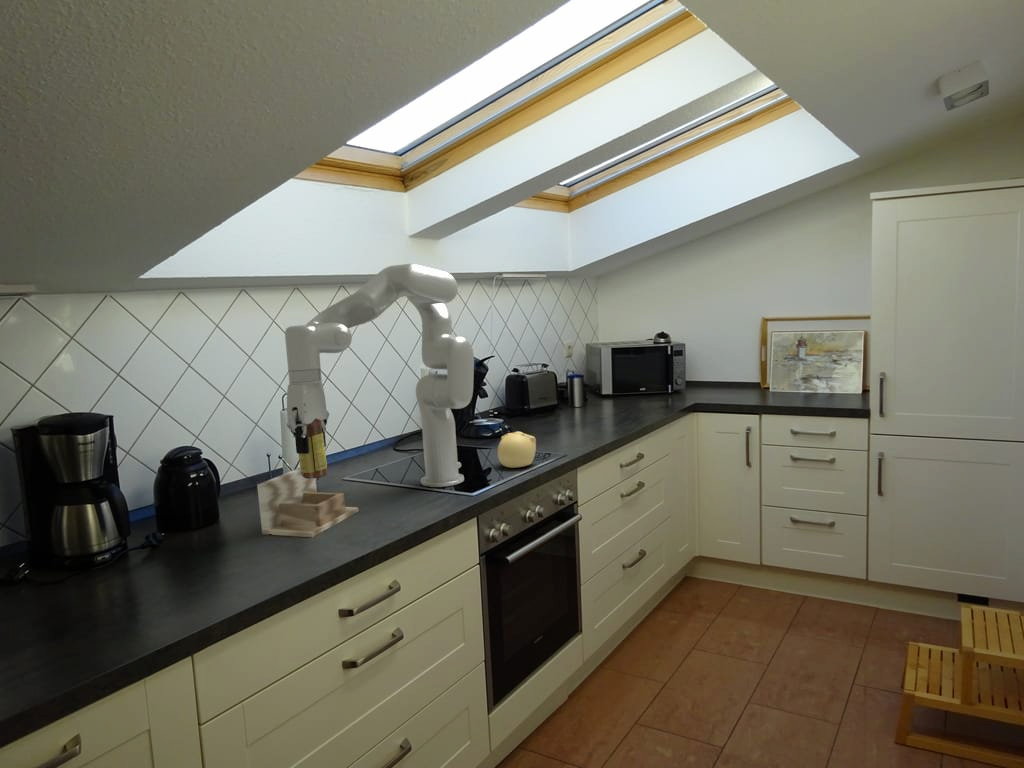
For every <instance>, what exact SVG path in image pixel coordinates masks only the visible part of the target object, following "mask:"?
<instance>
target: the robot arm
mask: <svg viewBox="0 0 1024 768" xmlns="http://www.w3.org/2000/svg"><path fill="white" fill-rule="evenodd" d="M458 287H459V286H458V283H457V280H456V279H455V278H454V276H453V275H452V274H451V273H450V272H449V273H448V272H447V271H444V270H443V271H442V270H440V269H437V268H432V267H428V266H424V265H421V264H416V263H403V264H397V265H396V264H394V265H389V266H387V267H384V268H382V270H380V271H379V272H378V273H377V274H375V275H374V276H373V277H372V278H371V279H370V280H368V281H367V282H366V283H365V284H364V285H362V286H361V287H360V288H358V290H356V291H355V292H353V293H352V294H350V295H348V296H346V297H344V298H343V299H341V300H339V301H338V302H336V303H334V304H332V305H330V306H328V307H327V308H325V309H323V310H322V311H321V312H319V313H318V314H316V315H315V316H314V317H313V318H312V319H311V320H309V322H307V323H306V324H303V325H302V324H301V325H291V326H287V328H286V329H285V330H284V339H285V347H286V348H285V350H286V361H287V370H288V372H287V373H288V382H289V383H288V385H287V390H286V392H287V393H286V416H287V417H286V418H287V423H286V427H287V428H288V430H289V431H290V432H291V434H292V437H293V438H294V439H295V441H294V442H295V451H296V454H298V455H299V454H308V453H309V445H308V437H306V431H307V425H309V424H311V423H312V422H313V421H314V420H315V419H316V418H317V419H320V421H321V427H322V432H323V438H324V446H325V448H327V443H326V432H325V431H327V428H326V426H327V423H328V419H329V417H330V413H329V411H328V410H327V403H326V395H325V394H326V393H325V390H324V385H323V382H322V381H323V380H322V368H321V367H322V366H321V357H320V354H339V353H342V352H345V351H346V350H347V349H348V348H349V347H350V346H351V344H352V341H353V336H352V332H351V330H350V328H353V327H356V326H360V325H364V324H366V323H370V322H371V321H375V320H376V319H378V318H379V317H380V316H381V315H382V314H383V313H384V312H385V311H386V310H388V308H389V307H391V306H392V305H394V304H395V302H396V301H398V300H399V299H400V298H403V297H406V298H407V299H408V301H409V302H410V303H411V304H412V305H413V306H414V307H415V308H416V310H417V312H418V313H419V315H420V318H421V329H422V331H421V360H422V363H423V364H424V365H425V367H426V368H429V369H432V370H446V371H447V373H446V374H445V373H431V374H430V373H429V374H426V375H424V376H422V377H421V378H419V380H418V382H417V383H416V387H415V395H416V401H417V404H418V408H419V412H420V418H421V421H420V422H421V430H422V431H421V433H422V444H423V457H424V468H425V470H424V471H425V476H423V477H422V478H421V479H420V484H421V485H422V486H423V487H428V486H429V487H430V488H443V487H450V486H456V485H459V484H461V483H463V482H464V481H465V477H464V474H462V473H459V469H460V468H461V467H462V463H461V462H460V461H458V448H457V435H456V433H457V432H456V421H455V417H454V414H453V412H452V409H453V410H454V409H455V410H458V409H459V410H460V409H464V408H465V407H467V406H468V405H469V404H470V403H471V401H472V398H473V393H474V375H475V372H474V371H475V367H474V365H475V356H474V355H475V354H474V349H473V346H472V345H471V342H470V341H469V340H468V339H467V338H466V337H464V336H460V335H453V325H452V323H453V321H452V316H451V313H450V310H449V309H448V307H447V306H446V304H449V303H450V302H452V301H453V300H455V298H456V296H457V294H458ZM299 422H302V424H299ZM299 427H302V431H301V430H300V429H299ZM429 487H428V488H429Z"/></svg>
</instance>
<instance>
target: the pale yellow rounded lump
mask: <svg viewBox="0 0 1024 768" xmlns="http://www.w3.org/2000/svg"><path fill="white" fill-rule="evenodd" d="M500 438H501V439H500V442H499V444H498V445H497V457H498V460H499V463H500V464H501V465H502V466H504V467H505V468H511V469H513V468H516V469H517V468H523V467H526V466H531V464H532V463H533V461H534V458H535V455H536V451H537V440H536V437H535V436H533V435H530V434H527V433H524V432H522V431H518V430H517V431H513V432H508V433H506V434H504V435H502V436H501V437H500Z"/></svg>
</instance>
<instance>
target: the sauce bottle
mask: <svg viewBox="0 0 1024 768" xmlns="http://www.w3.org/2000/svg"><path fill="white" fill-rule="evenodd" d="M299 424H302V422H299ZM299 429H300V430H301V431H302V427H299ZM306 437H308V445H309V453H308V454H298V458H299V468H301V473H302V476H303V477H304V478H307V479H310V478H316V479H319V478H322V477H325V476H327V474H328V462H327V456H326V447H325V446H324V438H323V432H322V427H321V421H320V419H317V418H316V419H315V420H314V421H313V422H312V423H311V424H309V425H307V431H306Z"/></svg>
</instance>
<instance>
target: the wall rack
mask: <svg viewBox="0 0 1024 768" xmlns="http://www.w3.org/2000/svg"><path fill="white" fill-rule="evenodd" d="M256 488H257V496H258V498H257V499H258V505H259V507H258V508H259V516H260V524H261V533H262V534H261V535H269V534H272V535H271V536H273V535H274V536H285V537H286V536H289V537H302V538H303V537H304V538H314V537H316V536H317V535H319V534H321V533H322V532H324V530H325V531H326V530H328V529H330V528H332V527H334V526H335V525H337V524H338V523H340V522H342V521H344V520H346V519H347V518H349V517H351V516H353V515H354V514H356V513H358V512H359V507H355V506H346V502H345V492H344V493H343V492H321V491H320V492H319V491H318V490H317V488H318V487H317V478H310V479H307V478H304V477H303V476H302V473H301V468H300V467H298V468H296V469H293V470H291V471H288V472H286V473H283V474H281V475H278V476H275V477H274V478H271V479H268V480H265V481H263V482H260V483H258V484H257V487H256ZM331 526H332V527H331Z"/></svg>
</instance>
